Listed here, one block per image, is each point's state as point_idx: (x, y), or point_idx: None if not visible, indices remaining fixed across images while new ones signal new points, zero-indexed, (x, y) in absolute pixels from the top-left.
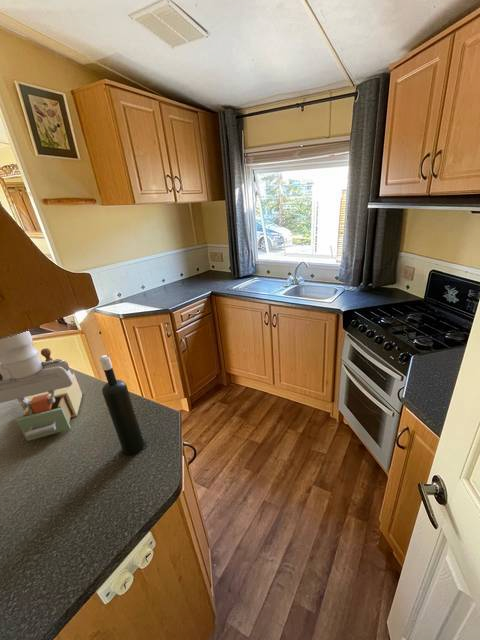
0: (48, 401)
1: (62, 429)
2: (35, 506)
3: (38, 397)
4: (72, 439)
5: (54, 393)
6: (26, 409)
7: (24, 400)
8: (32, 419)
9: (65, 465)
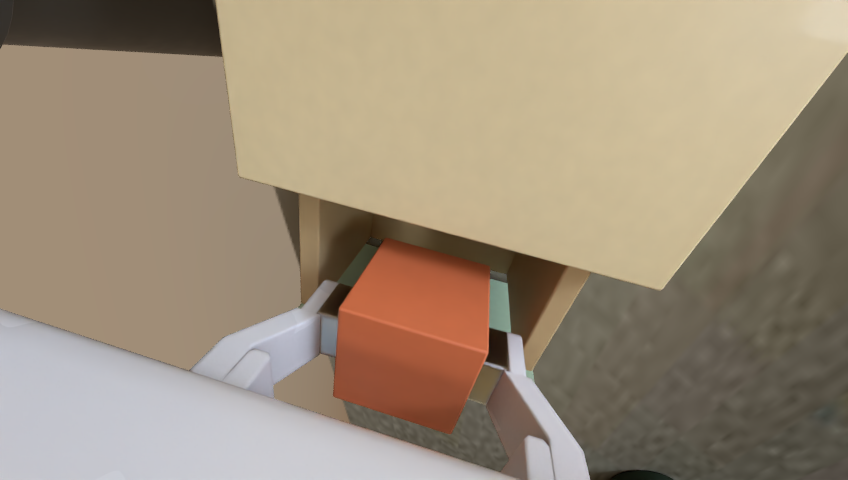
0: None
1: None
2: None
3: (391, 356)
4: None
5: (545, 419)
6: (307, 240)
7: (274, 368)
8: None
9: (466, 418)
